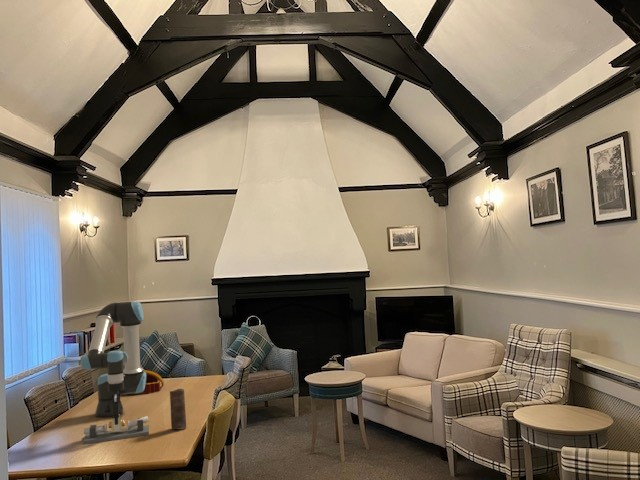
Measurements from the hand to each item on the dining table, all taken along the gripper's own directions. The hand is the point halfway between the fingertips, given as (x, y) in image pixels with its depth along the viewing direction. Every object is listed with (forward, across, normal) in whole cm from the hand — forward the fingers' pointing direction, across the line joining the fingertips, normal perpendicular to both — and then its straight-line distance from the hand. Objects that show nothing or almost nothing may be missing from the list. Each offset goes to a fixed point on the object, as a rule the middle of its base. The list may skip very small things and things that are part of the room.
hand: (117, 429), depth 255 cm
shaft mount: (+3, 0, 0) cm, 3 cm away
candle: (+3, -2, -30) cm, 30 cm away
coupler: (0, 0, 0) cm, 0 cm away
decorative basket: (+3, +103, -8) cm, 104 cm away
